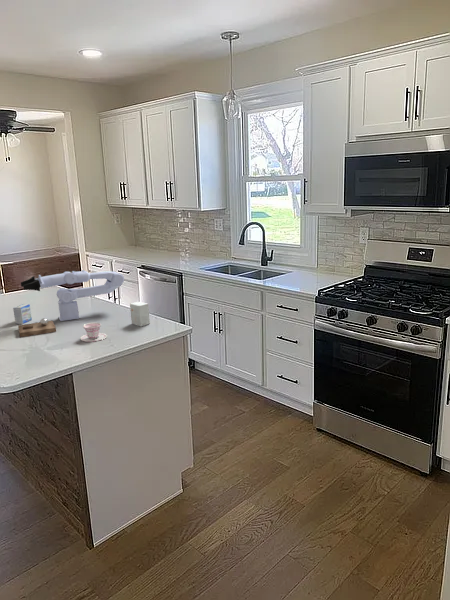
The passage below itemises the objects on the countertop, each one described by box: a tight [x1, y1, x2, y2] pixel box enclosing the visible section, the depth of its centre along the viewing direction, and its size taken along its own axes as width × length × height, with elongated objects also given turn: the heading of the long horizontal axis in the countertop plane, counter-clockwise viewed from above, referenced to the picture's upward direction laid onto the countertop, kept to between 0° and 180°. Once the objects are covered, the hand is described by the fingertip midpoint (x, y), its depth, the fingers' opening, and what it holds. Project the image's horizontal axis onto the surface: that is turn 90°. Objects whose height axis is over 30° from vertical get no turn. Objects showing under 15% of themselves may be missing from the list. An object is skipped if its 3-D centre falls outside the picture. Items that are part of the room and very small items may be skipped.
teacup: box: [79, 322, 108, 343], centre depth 211 cm, size 12×12×6 cm
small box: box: [129, 301, 151, 327], centre depth 229 cm, size 8×6×10 cm
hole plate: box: [17, 320, 57, 338], centre depth 224 cm, size 16×14×2 cm
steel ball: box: [39, 318, 49, 326], centre depth 225 cm, size 4×4×4 cm
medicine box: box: [12, 303, 32, 325], centre depth 239 cm, size 8×4×9 cm, turn 168°
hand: (22, 286), depth 229 cm, fingers open, 7 cm apart
